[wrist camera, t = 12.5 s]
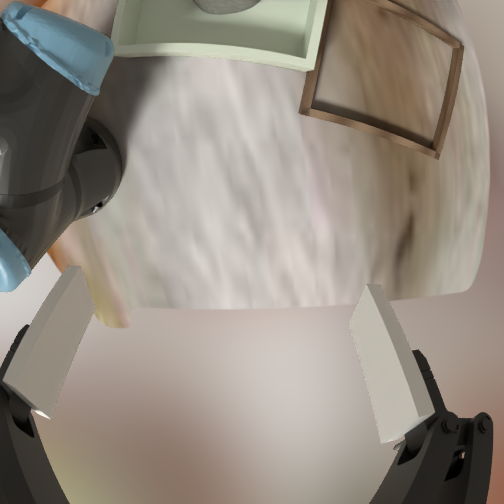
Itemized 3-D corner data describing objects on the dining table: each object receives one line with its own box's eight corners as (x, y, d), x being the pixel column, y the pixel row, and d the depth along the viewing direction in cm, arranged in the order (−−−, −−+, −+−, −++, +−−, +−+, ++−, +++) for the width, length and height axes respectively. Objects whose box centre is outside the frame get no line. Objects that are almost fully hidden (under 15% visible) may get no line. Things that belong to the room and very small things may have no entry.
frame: (298, 113, 30) (300, 114, 29) (324, -19, 19) (328, -23, 18) (433, 156, 33) (438, 159, 32) (458, 46, 22) (464, 46, 20)
